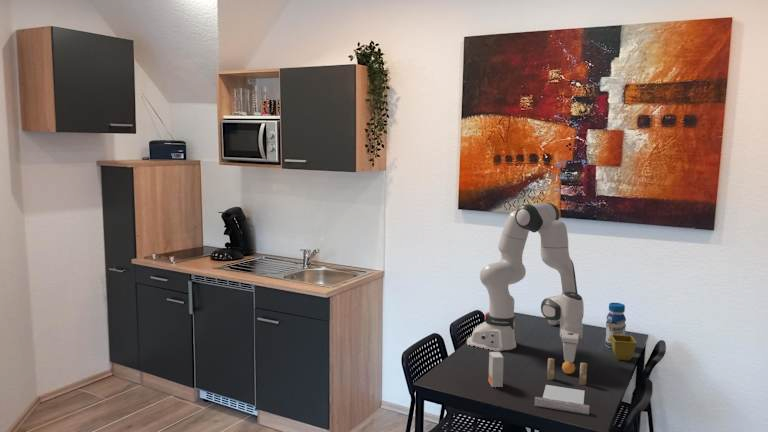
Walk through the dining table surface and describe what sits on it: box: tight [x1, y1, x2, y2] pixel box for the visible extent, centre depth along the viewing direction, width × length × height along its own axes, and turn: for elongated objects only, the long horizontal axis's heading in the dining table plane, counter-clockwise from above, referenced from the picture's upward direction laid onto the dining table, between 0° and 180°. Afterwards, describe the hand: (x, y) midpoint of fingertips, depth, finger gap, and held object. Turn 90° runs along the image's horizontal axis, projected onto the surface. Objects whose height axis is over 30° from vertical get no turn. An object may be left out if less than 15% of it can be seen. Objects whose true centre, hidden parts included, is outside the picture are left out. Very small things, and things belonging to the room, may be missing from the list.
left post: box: [546, 357, 555, 381], centre depth 223 cm, size 2×2×8 cm
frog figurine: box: [547, 319, 559, 326], centre depth 294 cm, size 6×7×7 cm
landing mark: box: [542, 384, 586, 405], centre depth 209 cm, size 14×14×1 cm
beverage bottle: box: [604, 302, 627, 349], centre depth 261 cm, size 8×8×20 cm
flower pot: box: [611, 335, 637, 361], centre depth 247 cm, size 9×9×9 cm
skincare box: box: [488, 351, 504, 389], centre depth 217 cm, size 6×4×12 cm
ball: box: [561, 361, 576, 375], centre depth 229 cm, size 5×5×5 cm
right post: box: [578, 362, 588, 386], centre depth 219 cm, size 2×2×8 cm
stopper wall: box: [533, 396, 590, 415], centre depth 197 cm, size 18×2×2 cm, turn 69°
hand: (569, 365), depth 234 cm, fingers closed
